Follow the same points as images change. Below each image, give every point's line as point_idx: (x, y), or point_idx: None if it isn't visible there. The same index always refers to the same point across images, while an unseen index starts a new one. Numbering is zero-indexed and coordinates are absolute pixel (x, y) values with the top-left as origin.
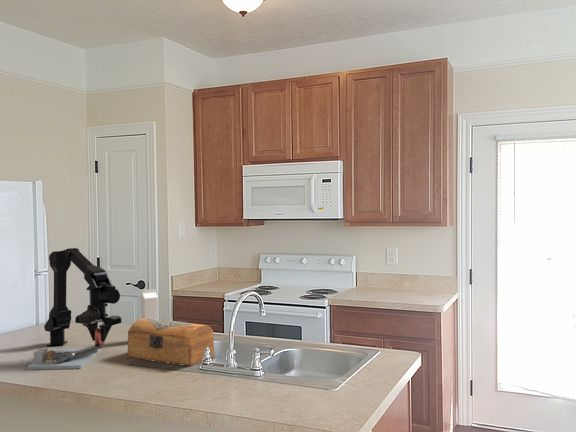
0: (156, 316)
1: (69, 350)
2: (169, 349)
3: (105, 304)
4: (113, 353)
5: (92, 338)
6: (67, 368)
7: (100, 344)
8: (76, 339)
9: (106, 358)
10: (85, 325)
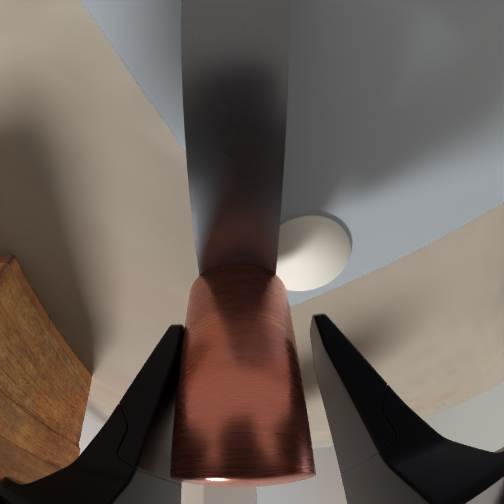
0: (185, 502)
1: (478, 174)
2: None
3: None
4: (153, 285)
5: (333, 333)
6: None
7: (193, 290)
8: (486, 337)
9: (72, 176)
10: (479, 474)
